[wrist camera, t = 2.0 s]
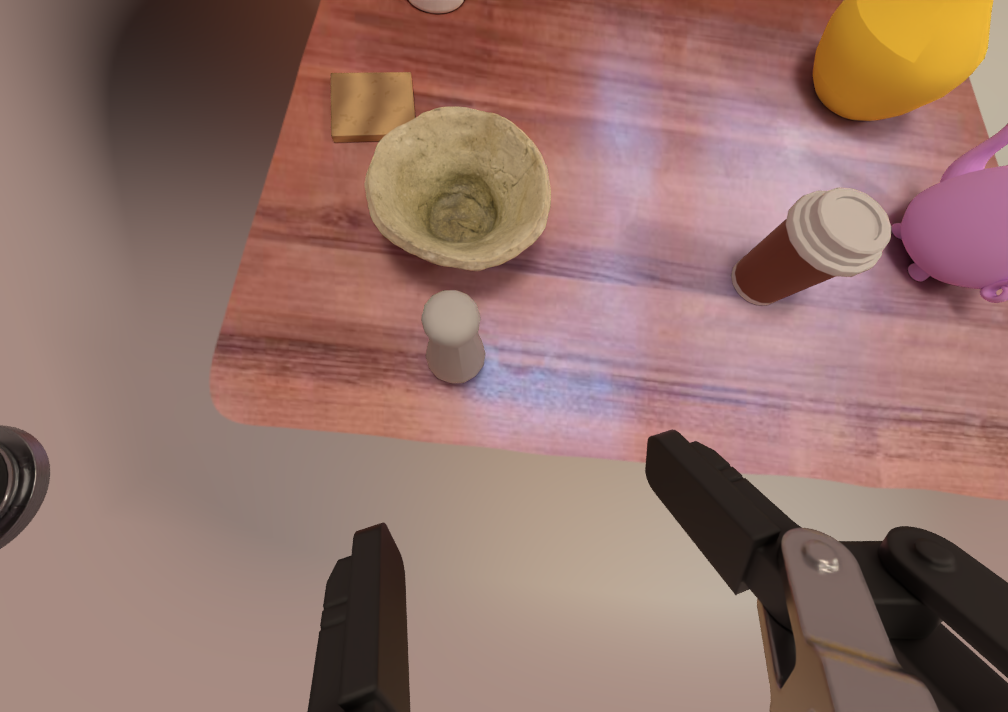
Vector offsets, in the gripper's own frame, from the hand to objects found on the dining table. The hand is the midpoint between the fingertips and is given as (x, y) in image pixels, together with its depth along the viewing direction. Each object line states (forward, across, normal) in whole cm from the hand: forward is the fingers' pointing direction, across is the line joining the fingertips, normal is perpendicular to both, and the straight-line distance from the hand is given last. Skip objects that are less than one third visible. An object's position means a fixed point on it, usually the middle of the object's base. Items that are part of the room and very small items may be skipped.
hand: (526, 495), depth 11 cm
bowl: (+38, -4, -1) cm, 38 cm away
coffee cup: (+27, -38, +10) cm, 47 cm away
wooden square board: (+51, +2, -14) cm, 53 cm away
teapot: (+26, -64, +11) cm, 70 cm away
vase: (+44, -67, -7) cm, 80 cm away
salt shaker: (+27, 0, +10) cm, 29 cm away
